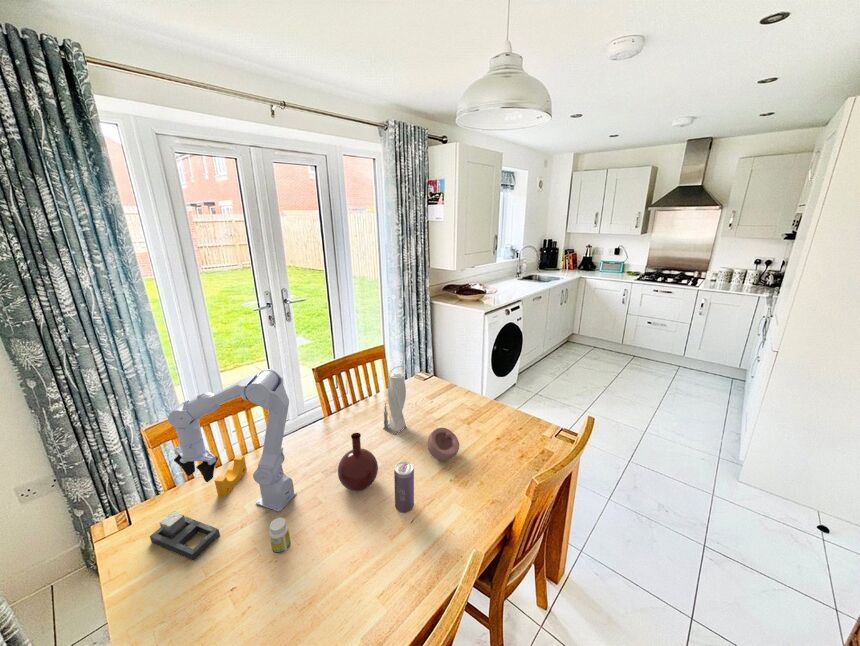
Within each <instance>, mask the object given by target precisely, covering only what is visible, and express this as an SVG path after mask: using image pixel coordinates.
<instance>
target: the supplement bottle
mask: <svg viewBox="0 0 860 646" xmlns="http://www.w3.org/2000/svg"><path fill="white" fill-rule="evenodd" d="M289 529H290V528H289V525H288V523H287V522H286V519H285V518H283V517H277V518H275V519H273V520H272V521H271V523H270V524H269V538H270V544H271V550H272V552H273V554H275V555H282V554H284V553H286V552H287V551H288V550H289V549H290V547H291V545H292V544H291V542H292V541H291V536H290V530H289Z"/></svg>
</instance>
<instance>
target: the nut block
mask: <svg viewBox="0 0 860 646" xmlns="http://www.w3.org/2000/svg"><path fill="white" fill-rule="evenodd" d="M184 516H185V514H183V513H179V512H176V511H172V512H171V513H169V514H168V515H167V516H166V517H164V518H163V519H162V520H161V521H159V526H160V527H161V529H162V533H163V536H164V537H166V538H168V539H171V540H172V539H173V538H174V537H175V536H177V535H178V534H179V533H180V532H181V531H182V530H183V529H185V528H186V527H187V525H186V521H185V518H184Z"/></svg>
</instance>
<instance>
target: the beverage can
mask: <svg viewBox="0 0 860 646" xmlns="http://www.w3.org/2000/svg"><path fill="white" fill-rule="evenodd" d="M393 473H394V477H393V478H394V507H395V509H396V511H398V512H399V513H401V514H408V513H410V512H411V511H412V510H413V508H414V506H415V469H414V466H413V464H412V463H411V462H409V461H400V462H397V463H396V465H395V466H394V470H393Z"/></svg>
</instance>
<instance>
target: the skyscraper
mask: <svg viewBox="0 0 860 646" xmlns="http://www.w3.org/2000/svg"><path fill="white" fill-rule="evenodd" d="M397 368H398V369H399V368H402V369H401V371H399V370H398V371H397V370H395V369H397ZM404 369H405V366H401V365H399V366H395V367H393V368H391V370H390V371H389V375H388V382H387V383H388V384H387V400H388V406H389V410H390V411H389V412H390V418H389V419H388V413H389V412H388V411H387V406H386V405H387V403H386V402H384V411H383V416H384V417H383V425H384V426H383V428H382V430H384V429H385V431H386V430H387V431H386V432H388V431H389V432H388V433H390V432H391V433H390V434H392V433H393V435H394V434H395V435H394V436H396V435H398V434H399V433H400V432H402V431H403V430H404V429H405V427H406V428H407V424H406V421H405V418H404V413H403V409H404V406H405V404H406V403H405V402H406V399H407V397H406V396H407V390H406V389H407V388H406V382H405V377H404V373H403V371H404ZM394 370H395V371H394ZM403 428H404V429H403ZM402 429H403V430H402ZM401 430H402V431H401ZM399 431H400V432H399ZM398 432H399V433H398ZM397 433H398V434H397Z"/></svg>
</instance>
